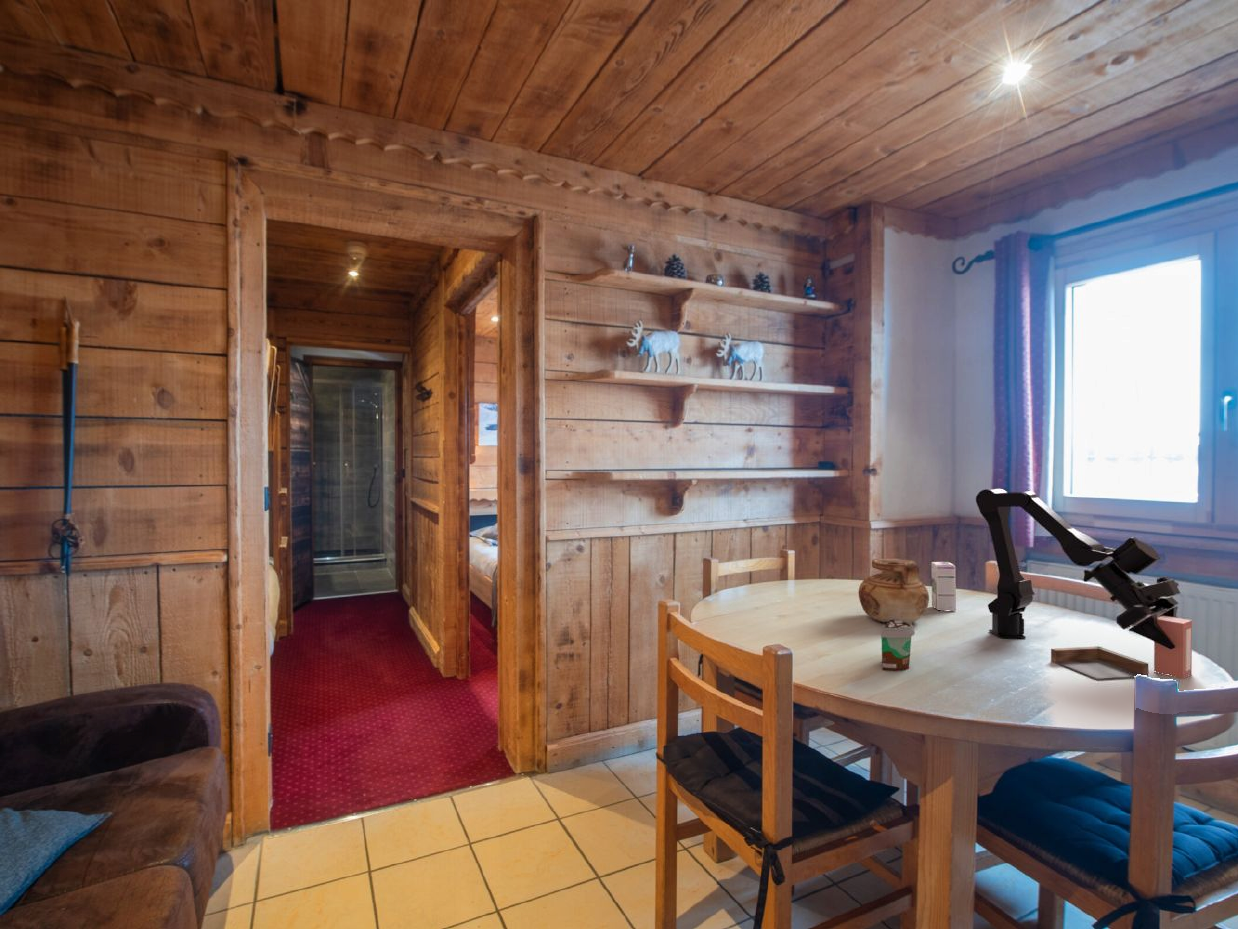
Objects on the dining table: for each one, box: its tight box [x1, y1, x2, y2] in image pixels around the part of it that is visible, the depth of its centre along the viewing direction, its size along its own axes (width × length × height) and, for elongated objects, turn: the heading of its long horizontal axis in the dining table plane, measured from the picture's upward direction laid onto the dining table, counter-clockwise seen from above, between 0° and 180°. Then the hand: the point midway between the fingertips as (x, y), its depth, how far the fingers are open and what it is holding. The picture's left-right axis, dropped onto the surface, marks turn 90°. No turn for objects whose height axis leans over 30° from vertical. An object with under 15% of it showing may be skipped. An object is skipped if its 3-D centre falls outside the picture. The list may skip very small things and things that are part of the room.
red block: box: [1153, 616, 1193, 679], centre depth 140 cm, size 5×5×12 cm
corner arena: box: [1050, 645, 1149, 681], centre depth 143 cm, size 12×12×3 cm
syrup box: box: [931, 561, 957, 612], centre depth 198 cm, size 6×6×14 cm
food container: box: [880, 616, 916, 672], centre depth 146 cm, size 12×6×10 cm, turn 148°
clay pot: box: [858, 557, 930, 624], centre depth 186 cm, size 19×19×20 cm
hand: (1180, 645), depth 139 cm, fingers open, 8 cm apart
